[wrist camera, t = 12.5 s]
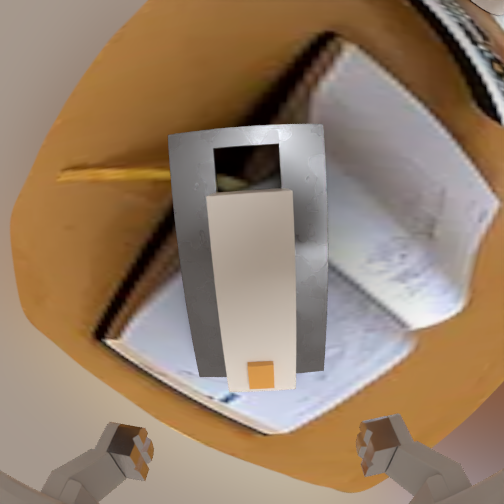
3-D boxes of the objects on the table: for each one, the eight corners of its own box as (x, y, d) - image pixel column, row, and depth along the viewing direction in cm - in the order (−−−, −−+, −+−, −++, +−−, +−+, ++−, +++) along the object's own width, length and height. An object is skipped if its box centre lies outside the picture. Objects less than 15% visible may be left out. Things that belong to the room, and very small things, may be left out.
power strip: (219, 190, 26) (204, 197, 19) (282, 186, 26) (293, 191, 18) (234, 348, 30) (228, 396, 23) (288, 345, 30) (296, 393, 23)
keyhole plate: (180, 140, 25) (167, 135, 21) (312, 131, 25) (322, 124, 21) (205, 353, 31) (199, 376, 27) (316, 347, 31) (323, 370, 27)
